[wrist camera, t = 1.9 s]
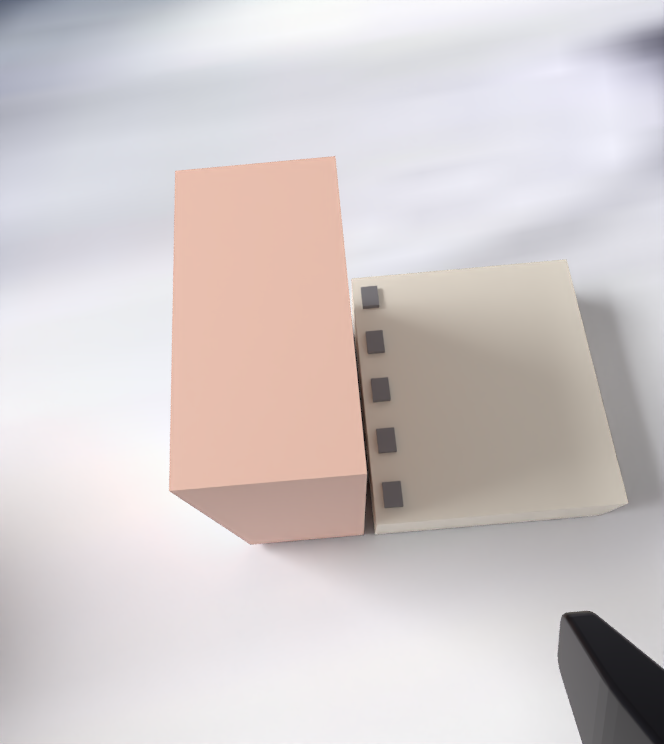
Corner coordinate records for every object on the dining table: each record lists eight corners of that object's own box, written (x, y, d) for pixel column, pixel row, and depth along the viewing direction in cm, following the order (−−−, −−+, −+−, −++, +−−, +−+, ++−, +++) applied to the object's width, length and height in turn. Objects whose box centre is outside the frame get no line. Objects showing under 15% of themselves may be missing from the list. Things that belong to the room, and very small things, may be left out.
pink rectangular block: (363, 534, 22) (366, 474, 12) (250, 544, 22) (169, 490, 12) (344, 329, 25) (335, 156, 15) (244, 338, 25) (175, 170, 15)
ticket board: (600, 515, 22) (630, 502, 19) (375, 534, 22) (377, 524, 19) (547, 292, 25) (568, 256, 23) (352, 309, 25) (351, 275, 23)
